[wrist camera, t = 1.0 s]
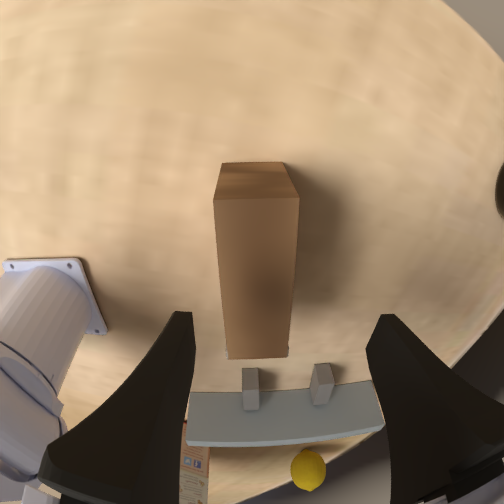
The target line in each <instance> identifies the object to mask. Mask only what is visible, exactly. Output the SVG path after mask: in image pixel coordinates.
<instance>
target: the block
mask: <svg viewBox="0 0 504 504" xmlns="http://www.w3.org/2000/svg"><path fill="white" fill-rule="evenodd" d="M299 202H300V198H299V196H298V194H297V192H296V190H295V187H294V185H293V183H292V181H291V179H290V177H289V175H288V173H287V171H286V169H285V167H284V165H283V163H282V162H240V163H222V166H221V170H220V174H219V178H218V182H217V186H216V190H215V194H214V198H213V206H214V219H215V231H216V243H217V255H218V266H219V277H220V287H221V297H222V307H223V316H224V326H225V335H226V356H227V359H264V358H284V357H288V352H289V346H288V340H289V330H290V320H291V310H292V299H293V288H294V276H295V263H296V249H297V235H298V219H299Z"/></svg>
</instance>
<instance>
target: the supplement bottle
mask: <svg viewBox="0 0 504 504" xmlns="http://www.w3.org/2000/svg"><path fill="white" fill-rule="evenodd" d="M495 197H496V205H497V208H498V211H499V213H500V215H501V216H502V217H503V219H504V163H503V165H502V167H501V169H500V172H499V175H498V178H497V183H496V192H495Z"/></svg>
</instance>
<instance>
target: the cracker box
mask: <svg viewBox="0 0 504 504" xmlns="http://www.w3.org/2000/svg"><path fill="white" fill-rule="evenodd" d="M186 427H187V423H186V422H184V424H183V431H182V442H181V458H180V482H179V504H207V499H208V478H209V459H210V447H205V446H188V445H187V443H186V441H185V438H186Z"/></svg>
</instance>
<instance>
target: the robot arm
mask: <svg viewBox="0 0 504 504" xmlns="http://www.w3.org/2000/svg"><path fill="white" fill-rule="evenodd" d="M69 263H70V264H71V265H72V266H71V265H70V264H69ZM2 266H3V268H4V271H5V273H4V274H3V275H2V276H1V277H0V502H5V501H19V500H22V502H21V504H179V482H180V458H181V442H182V431H183V424H184V418H185V413H186V408H187V403H188V398H189V393H190V388H191V383H192V378H193V373H194V364H195V353H196V345H195V336H194V327H193V317H192V312H181V311H175V312H174V313H173V314H172V316H171V318H170V319H169V321H168V323H167V324H166V326H165V328H164V329H163V331H162V332H161V334H160V335H159V337H158V338H157V340H156V341H155V343H154V344H153V346H152V347H151V348H150V350H149V351H148V353H147V354H146V356H145V357H144V358H143V359H142V361H141V362H140V363H139V365H138V366H137V367H136V368H135V370H134V371H133V372H132V373H131V375H130V376H129V377H128V378H127V379H126V380H125V381H124V383H123V384H122V385H121V386H120V387H119V388H118V389H117V390H116V391H115V392H114V393H113V394H112V395H111V396H110V397H109V398H108V399H107V400H106V401H105V402H104V403H103V404H102V405H101V406H100V407H99V408H97V409H96V410H95V411H94V412H93V413H92V414H90V415H89V416H88V417H87V418H85V419H84V420H83V421H81V422H80V423H79V424H78V425H76V426H75V427H74V428H72V429H71V430H70V431H68V430H67V426H66V423H65V421H64V419H63V418H62V417H61V416H60V414H61V411H62V408H63V406H64V405H63V403H61V402H60V401H59V400H58V398H57V396H58V394H59V391H60V389H61V386H62V384H63V381H64V379H65V376H66V374H67V371H68V369H69V367H70V364H71V362H72V360H73V357H74V355H75V353H76V351H77V348H78V346H79V344H80V342H81V340H82V338H83V335H84V333H85V334H96V335H106V334H107V332H108V329H107V327H106V325H105V322H104V320H103V318H102V315H101V313H100V311H99V308H98V306H97V303H96V301H95V298H94V296H93V293H92V291H91V288H90V285H89V283H88V280H87V277H86V275H85V272H84V269H83V266H82V263H81V261H80V260H79V259H77V258H53V259H17V260H4V261H3V263H2ZM366 354H367V360H368V365H369V370H370V373H371V377H372V380H373V383H374V386H375V389H376V392H377V395H378V398H379V402H380V405H381V408H382V411H383V415H384V419H385V423H386V428H387V434H388V441H389V449H390V459H391V500H390V504H418V503H421V502H424V504H504V462H503V461H502V458H503V457H504V405H503V404H501V403H499V402H498V401H496V400H494V399H492V398H490V397H488V396H487V395H485V394H483V393H482V392H481V391H479V390H478V389H476V388H474V387H473V386H471V385H470V384H469V383H468V382H466V381H465V380H464V379H462V378H461V377H460V376H459V375H457V374H456V373H455V372H453V371H452V370H451V369H450V368H449V367H448V366H447V365H446V364H445V363H443V362H442V361H441V360H440V359H439V358H438V357H437V356H436V355H435V354H434V353H433V352H432V351H431V350H430V349H429V348H428V347H427V346H426V345H425V344H424V343H423V342H422V341H421V340H420V339H419V338H418V337H417V336H416V335H415V334H414V333H413V332H412V331H411V330H410V329H409V328H408V327H407V326H406V325H405V324H404V323H403V322H402V321H401V320H400V319H399V318H398V317H397V316H396V315H395V314H381V316H380V318H379V320H378V322H377V325H376V327H375V329H374V331H373V334H372V336H371V338H370V340H369V342H368V344H367V346H366ZM42 483H44V484H45V485H47V486H49V487H50V488H52V489H54V490H56V491H58V492H60V493H62V494H61V499H58V498H56V497H54V496H52V495H49V494H47V493H45V492H43V491H40V490H38V488H39V486H40V485H41V484H42Z"/></svg>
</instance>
